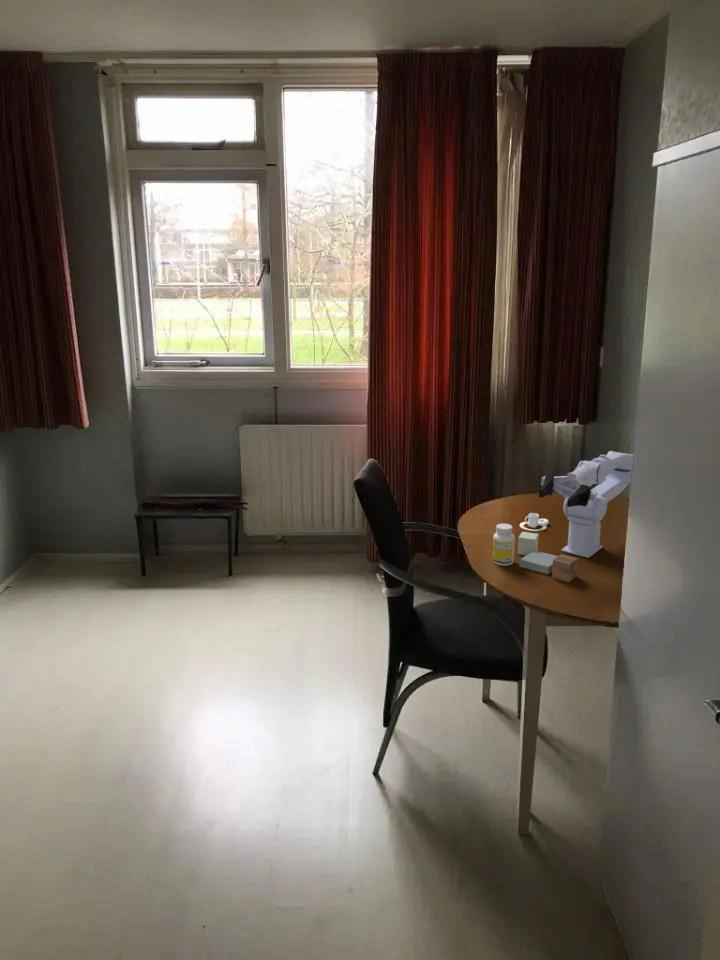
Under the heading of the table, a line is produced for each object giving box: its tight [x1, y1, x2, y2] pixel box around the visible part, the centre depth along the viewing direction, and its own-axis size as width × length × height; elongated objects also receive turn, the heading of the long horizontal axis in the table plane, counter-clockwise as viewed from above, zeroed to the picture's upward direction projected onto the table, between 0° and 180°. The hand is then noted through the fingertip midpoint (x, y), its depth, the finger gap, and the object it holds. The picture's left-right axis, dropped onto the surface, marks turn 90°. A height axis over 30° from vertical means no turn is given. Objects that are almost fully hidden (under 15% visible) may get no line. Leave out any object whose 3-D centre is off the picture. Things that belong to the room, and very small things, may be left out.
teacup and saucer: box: [519, 512, 550, 532], centre depth 230 cm, size 9×8×4 cm
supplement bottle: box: [492, 523, 516, 566], centre depth 204 cm, size 6×6×10 cm
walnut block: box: [551, 554, 579, 583], centre depth 195 cm, size 4×4×5 cm
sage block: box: [517, 531, 539, 556], centre depth 211 cm, size 4×4×5 cm
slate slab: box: [519, 550, 559, 575], centre depth 203 cm, size 8×8×2 cm
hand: (554, 498), depth 191 cm, fingers open, 7 cm apart
